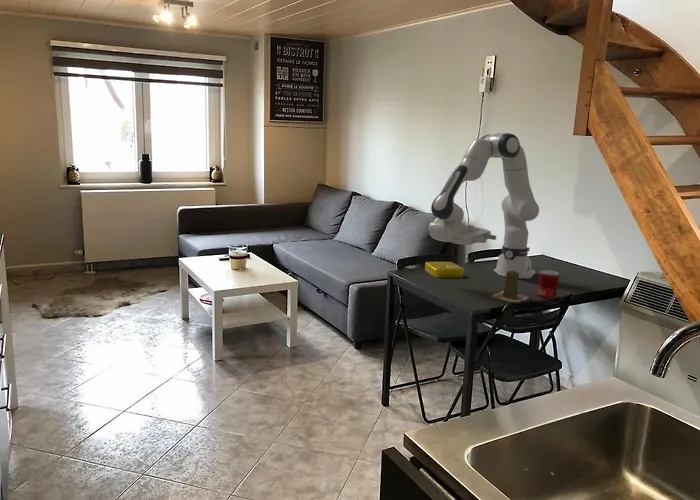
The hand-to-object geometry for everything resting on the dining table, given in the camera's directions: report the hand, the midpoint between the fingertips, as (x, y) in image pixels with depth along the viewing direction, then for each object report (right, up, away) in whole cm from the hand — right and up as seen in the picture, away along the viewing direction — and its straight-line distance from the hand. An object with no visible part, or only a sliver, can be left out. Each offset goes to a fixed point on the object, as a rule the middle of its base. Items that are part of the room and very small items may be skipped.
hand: (490, 239), depth 248 cm
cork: (+8, -24, -3) cm, 26 cm away
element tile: (-15, -16, +33) cm, 40 cm away
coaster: (+8, -25, -2) cm, 26 cm away
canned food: (+25, -25, +3) cm, 35 cm away
